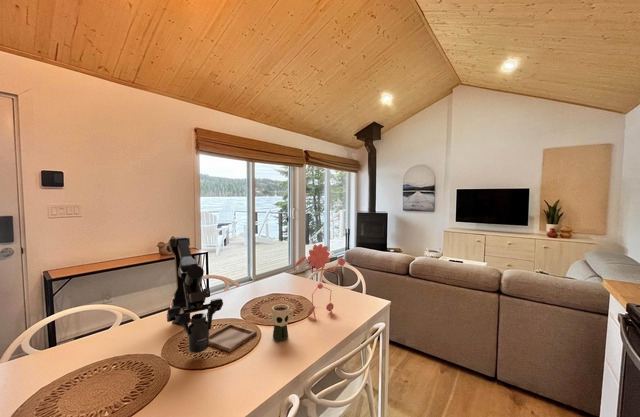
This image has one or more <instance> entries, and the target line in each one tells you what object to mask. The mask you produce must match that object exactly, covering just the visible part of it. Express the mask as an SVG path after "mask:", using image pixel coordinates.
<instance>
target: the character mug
mask: <svg viewBox="0 0 640 417" xmlns="http://www.w3.org/2000/svg"><path fill="white" fill-rule="evenodd" d="M293 317H294V309H290V306H289V305H288V304H275V305H273V306H272V307H271V313H268V314H267V322H268V323H272V325H274V326H273V332H272V339H273V340H274V341H276V342H282V341H283V340H284V341H286V340H287V339H288V338H289V331H288V326H287V325H288V324H289V322H290V318H291V319H292V318H293Z"/></svg>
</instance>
